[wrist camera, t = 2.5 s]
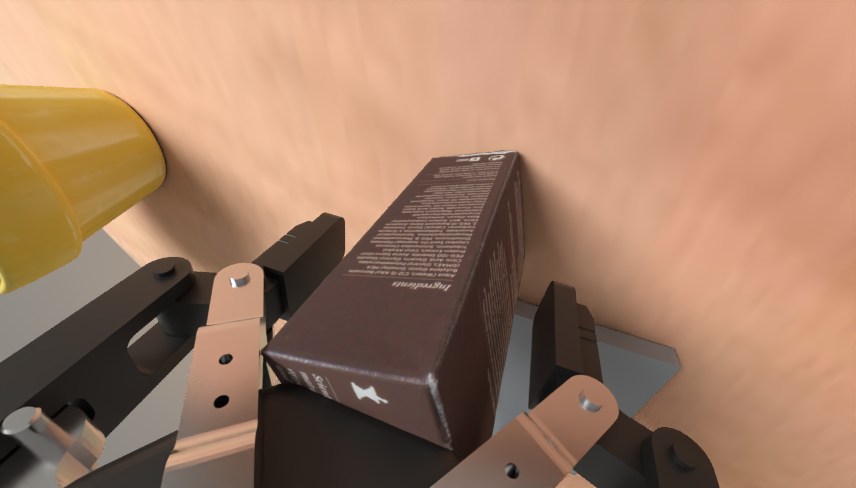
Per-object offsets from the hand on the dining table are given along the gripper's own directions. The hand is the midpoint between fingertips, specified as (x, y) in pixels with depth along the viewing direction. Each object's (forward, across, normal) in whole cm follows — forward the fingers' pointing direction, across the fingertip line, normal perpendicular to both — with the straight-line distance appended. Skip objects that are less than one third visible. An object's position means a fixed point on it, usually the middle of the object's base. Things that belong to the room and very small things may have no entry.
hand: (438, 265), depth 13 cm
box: (+6, -1, 0) cm, 6 cm away
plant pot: (+6, +23, +3) cm, 24 cm away
